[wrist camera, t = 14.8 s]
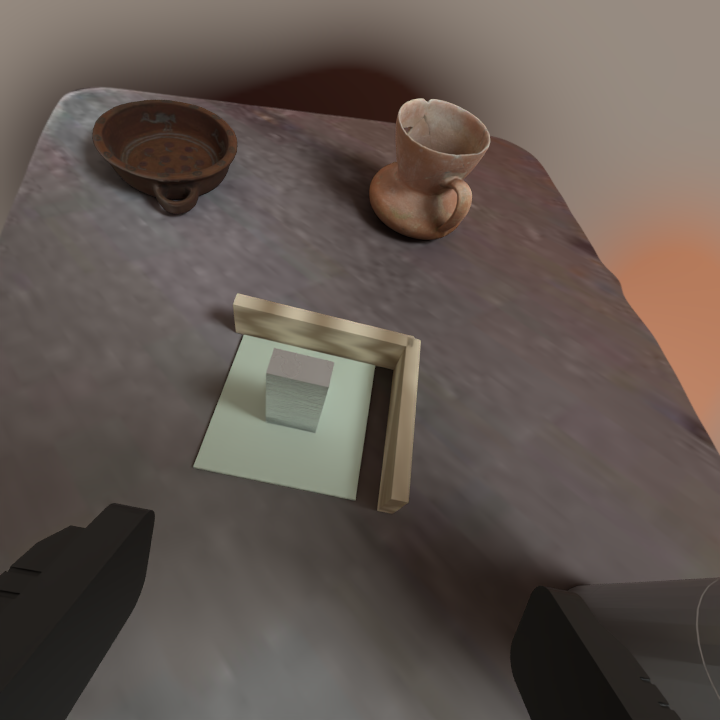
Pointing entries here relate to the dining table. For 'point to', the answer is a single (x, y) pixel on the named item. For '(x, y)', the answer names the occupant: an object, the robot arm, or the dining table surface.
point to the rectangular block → (296, 389)
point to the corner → (357, 346)
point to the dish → (166, 149)
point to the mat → (284, 444)
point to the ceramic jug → (429, 169)
